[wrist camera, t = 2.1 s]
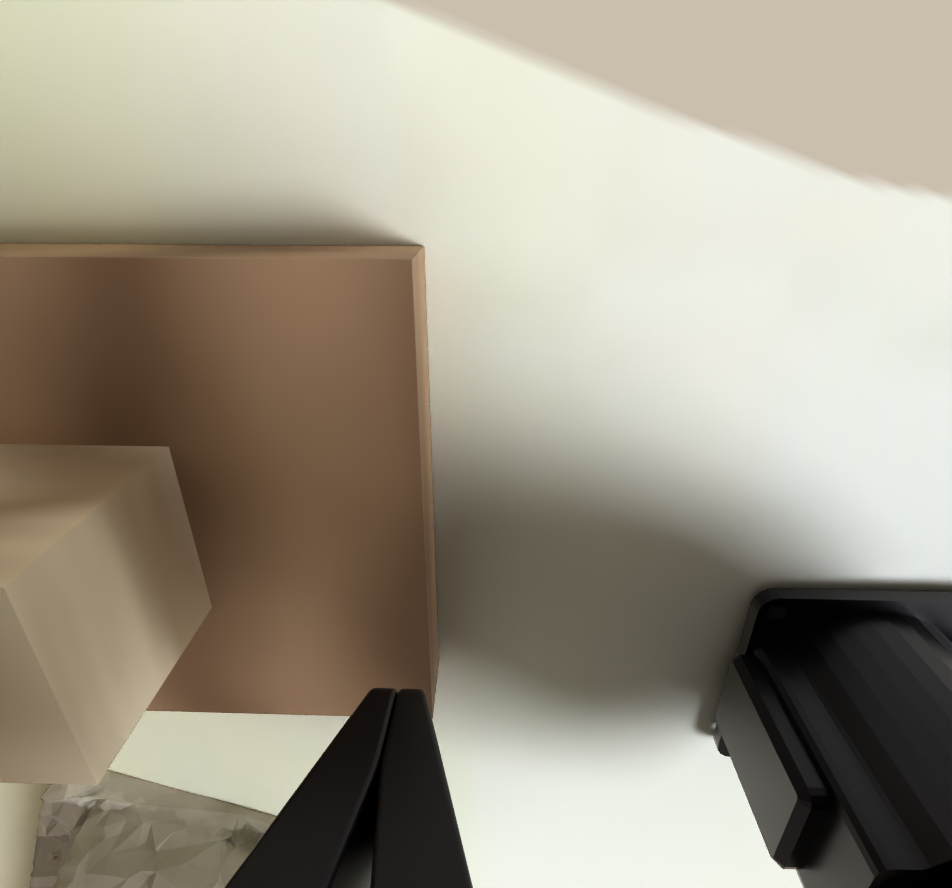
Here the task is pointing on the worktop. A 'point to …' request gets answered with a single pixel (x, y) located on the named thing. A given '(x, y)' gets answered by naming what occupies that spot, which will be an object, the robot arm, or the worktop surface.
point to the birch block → (88, 602)
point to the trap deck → (254, 445)
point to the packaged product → (140, 836)
